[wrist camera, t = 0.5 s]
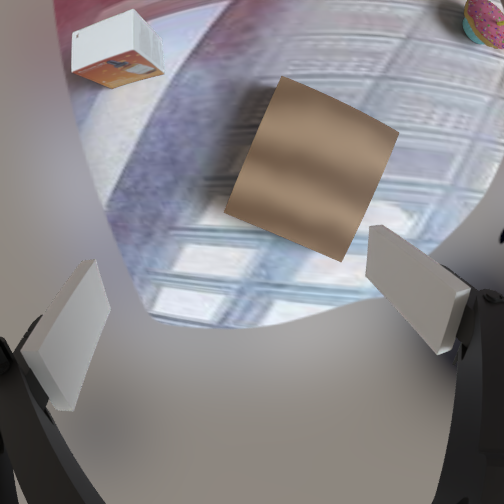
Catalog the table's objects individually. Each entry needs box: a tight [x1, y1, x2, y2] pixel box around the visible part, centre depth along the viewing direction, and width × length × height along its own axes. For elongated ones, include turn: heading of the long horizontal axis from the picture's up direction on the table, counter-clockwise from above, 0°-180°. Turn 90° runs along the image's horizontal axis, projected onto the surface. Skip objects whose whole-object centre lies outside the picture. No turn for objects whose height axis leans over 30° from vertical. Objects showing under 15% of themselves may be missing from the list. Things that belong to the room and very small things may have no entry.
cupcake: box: [462, 0, 504, 49], centre depth 23 cm, size 9×8×12 cm
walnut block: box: [224, 76, 399, 262], centre depth 34 cm, size 16×14×6 cm
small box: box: [71, 9, 165, 89], centre depth 29 cm, size 8×6×10 cm
